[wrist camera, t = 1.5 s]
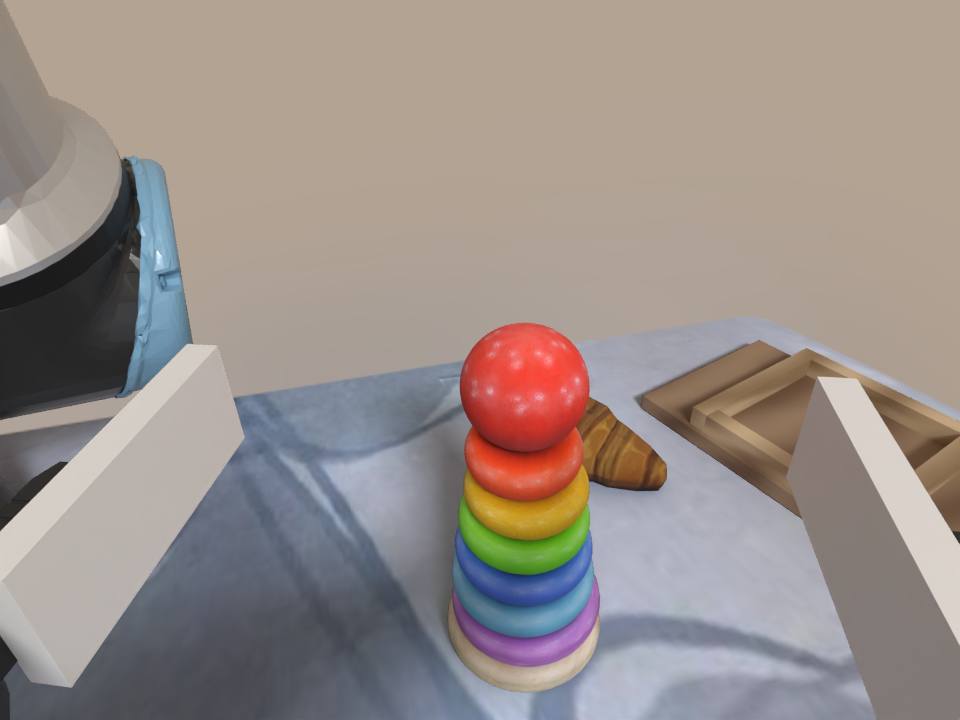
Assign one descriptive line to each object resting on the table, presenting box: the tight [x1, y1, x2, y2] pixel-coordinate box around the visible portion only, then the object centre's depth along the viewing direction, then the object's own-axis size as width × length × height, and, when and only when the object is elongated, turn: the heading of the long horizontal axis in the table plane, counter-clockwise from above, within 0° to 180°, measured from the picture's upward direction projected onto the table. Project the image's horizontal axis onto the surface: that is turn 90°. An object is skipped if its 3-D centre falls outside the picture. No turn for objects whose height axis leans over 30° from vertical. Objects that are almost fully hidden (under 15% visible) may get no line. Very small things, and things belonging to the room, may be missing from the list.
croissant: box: [576, 397, 667, 491], centre depth 45 cm, size 14×7×5 cm, turn 61°
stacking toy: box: [448, 323, 600, 693], centre depth 30 cm, size 8×8×19 cm
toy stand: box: [642, 340, 960, 532], centre depth 45 cm, size 22×14×3 cm, turn 34°
